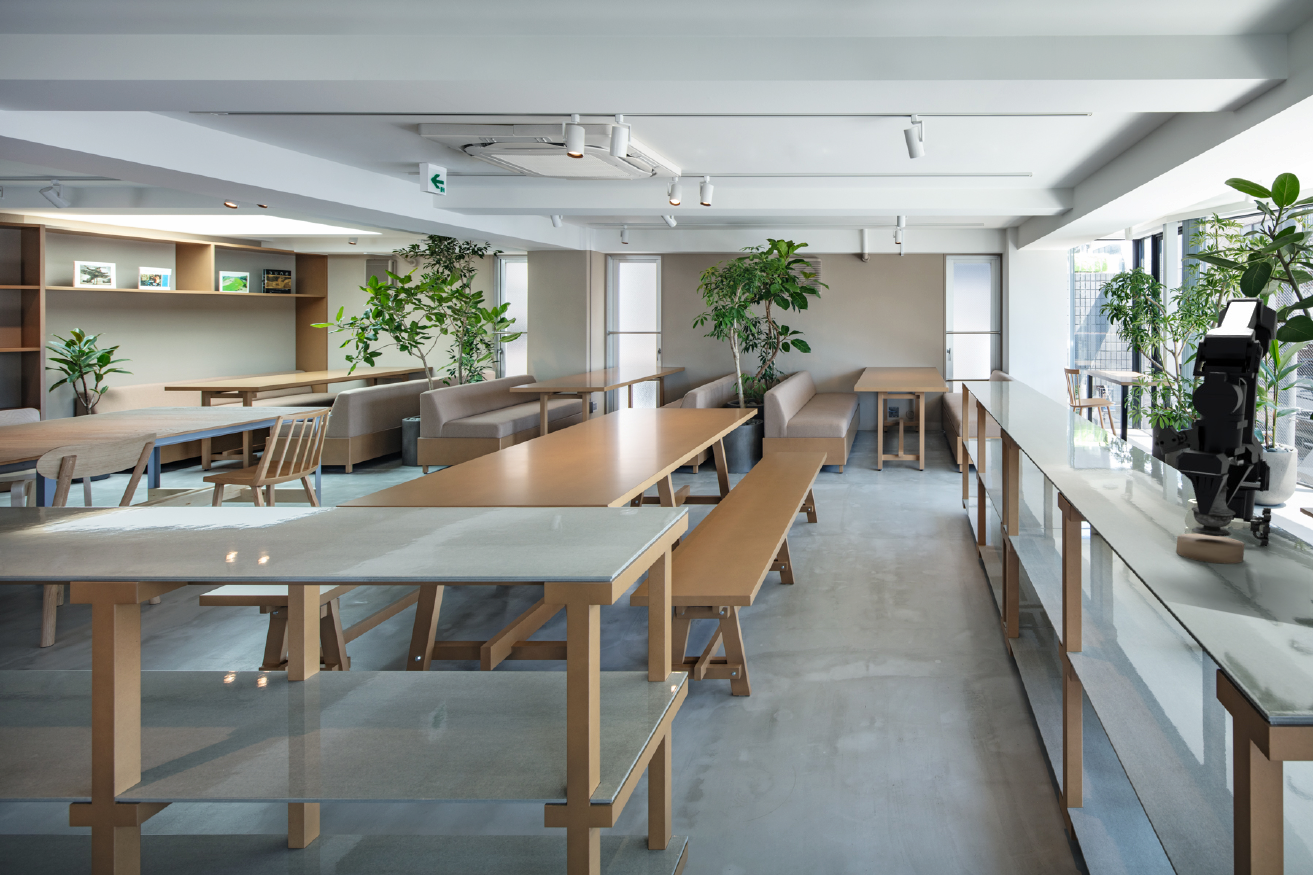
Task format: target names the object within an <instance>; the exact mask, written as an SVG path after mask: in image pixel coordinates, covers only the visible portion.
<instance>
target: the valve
mask: <svg viewBox="0 0 1313 875" xmlns="http://www.w3.org/2000/svg"><path fill="white" fill-rule="evenodd" d="M1186 505H1187V506H1186V510H1188V511H1187V512H1185V516H1184V524H1185V526H1186V527H1184V534H1198V533H1195V532H1193V531H1192V529H1193V528H1195V527H1197V526H1204V525H1202V524H1199V523H1198V522H1197V521H1196V520H1195V518H1194V515H1193V514H1194V511H1193V510H1192V508H1193V507H1197V506H1198V505H1197V501H1196V498H1195V499H1194V498H1192V499H1189V500H1187V503H1186ZM1261 515H1262V516H1257V517H1256V518H1254V520H1251V521H1250V522H1243V519H1238V518H1234V520H1231V522H1230V524H1228V525H1227V526H1224V527H1220V528H1223V529H1229V527H1231V528H1232V529H1233V530H1240V531H1243V529H1244V528H1245V529H1249V532H1252V535H1253V538H1255V539H1256V540H1260V541H1259V546H1260V547H1268V545H1269V541H1270V538H1269V535H1270V534H1271V527H1270V522H1271V521H1272V508H1271V507H1265V506H1264V507H1263V508H1262V512H1261ZM1257 533H1259V535H1258V534H1257Z"/></svg>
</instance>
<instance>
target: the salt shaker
mask: <svg viewBox="0 0 1313 875" xmlns="http://www.w3.org/2000/svg"><path fill="white" fill-rule="evenodd" d="M1227 472H1228V470H1227ZM1227 472H1226V473H1227ZM1226 483H1227V479H1226V481H1225V483H1224V485H1223V487H1222V489H1221V491H1220V493H1219V495H1218V497H1217V499H1216V501H1215V502H1214V504H1213V506H1212V508H1211V510H1210V512H1209V514H1208V515H1202V514H1200V513H1199V509H1198V506H1197V507H1193V508H1192V510H1193V511H1194V514H1193V515H1194V518H1195V520H1196V521H1197V522H1198V523H1199V524H1202V525H1204V526H1197V527H1195V528H1193V529H1192V531H1193V532H1195V533H1198V534H1203V535H1209V536H1221V537H1230V536H1231V535H1232V533H1231V531H1229V530H1228V529H1227V528H1224V529H1223V528H1220V527H1224V526H1227V525H1228V524H1230V522H1231V520H1232V519H1233V515H1235V514H1236V513H1235V512H1234V511H1232V510H1230V509H1228V508H1227V505H1226V490H1228V489H1229V488H1228V487H1227V486H1226Z"/></svg>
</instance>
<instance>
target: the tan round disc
mask: <svg viewBox="0 0 1313 875" xmlns="http://www.w3.org/2000/svg"><path fill="white" fill-rule="evenodd" d="M1176 537H1177V539H1176V550H1175V552H1176V554H1177V555H1179V556H1181V557H1183V558H1187V559H1190V560H1195V561H1199V562H1205V563H1206V562H1207V563H1212V564H1214V563H1215V564H1228V565H1229V564H1230V565H1231V564H1238V563H1242V562H1243V561H1244V556H1245V554H1244V553H1245V543H1244V542H1242V541H1241V540H1237V539H1234V538H1230V537H1228V536H1223V537H1221V536H1209V535H1203V534H1185V533H1182V534H1179V535H1177V536H1176Z"/></svg>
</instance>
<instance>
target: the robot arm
mask: <svg viewBox="0 0 1313 875" xmlns="http://www.w3.org/2000/svg"><path fill="white" fill-rule="evenodd" d="M1264 302H1265V301H1264V299H1263V298H1259V297H1232V298H1231V299H1227V301H1226V305H1225V307H1224V308H1223V309H1221V310H1220V311H1219V312H1218V319H1217V325H1216V328H1211V329H1209V330H1208V331H1207V332H1206V333H1205V335H1204V337H1203V339H1200V340H1199V342H1198V346H1197V350H1196V356H1195V360H1194V365H1193V366H1194V367H1193V372H1192V377H1199V378H1201V377H1202V378H1203V383H1201V384H1200V385H1198V387H1197V388H1196V389H1195V390H1194V392H1193V394H1192V397H1191V400H1192V405H1193V408H1194V410H1195V411H1196V412H1197V413H1198V414H1199V418H1196V419H1195V420H1194V421H1193V422H1192V428H1187V429H1183V430H1179V431H1178V430H1177V429H1176V428H1175V427H1174V426H1171V427H1166V428H1162V429H1159V432H1158V435H1157V436H1155V442H1154V445H1155V446H1156V447H1159V449H1160V453H1161V455H1168V454H1170V453H1175V452H1179V451H1181V450H1186V449H1189V450H1186V451H1182V452H1181V453H1179V454H1178V455H1177V456H1175V467H1174V469H1175V470H1179V473H1180V474H1181V475H1184V476H1185V477H1186V478H1188V480H1190V482H1191V484H1192V488H1193V492H1194V496H1195V499H1196V501H1197V505H1198V509H1199V513H1200V514H1202V515H1208V514H1209V512H1210V510H1211V508H1212V506H1213V504H1214V502H1215V501H1216V499H1217V497H1218V495H1219V493H1220V491H1221V489H1222V487H1223V485H1224V483H1225V481H1226V479H1227V483H1226V486H1227V487H1228V488H1229V489H1228V490H1226V505H1227V508H1228V509H1230V510H1232V511H1234V512H1235V513H1236V514H1235V515H1233V519H1232V520H1234V518H1238V519H1243V522H1250V521H1251V520H1254V518H1256V517H1258V516H1257V515H1255V514H1254V511H1255V502H1256V501H1255V499H1256V491H1258V492H1262V493H1263V492H1269V491H1270V483H1271V481H1270V479H1271V466H1269V464H1268V462H1267V459H1266V458H1264V447H1263V446H1264V445H1262V444H1261V442H1260V440H1259V439H1258V438H1257V436H1256V435H1255V428H1256V415H1257V414H1256V412H1257V399H1258V398H1257V397H1258V386H1259V385H1258V383H1259V373H1260V370H1261V364H1262V360H1263V359H1264V358H1265V356H1266V355H1267V354H1268V353H1269V351H1270V348H1271V346H1272V341H1275V340H1276V338H1277V334H1278V333H1277V332H1278V311H1276V310H1274V309H1273V308H1272V307H1269V306H1268V305H1266V304H1265V303H1264ZM1227 470H1228V472H1227ZM1226 472H1227V473H1226Z"/></svg>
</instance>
